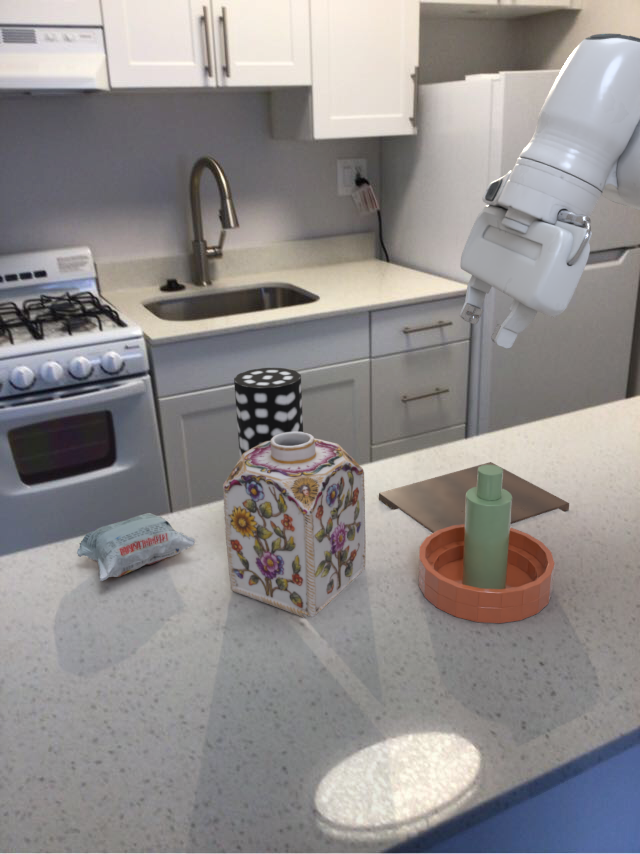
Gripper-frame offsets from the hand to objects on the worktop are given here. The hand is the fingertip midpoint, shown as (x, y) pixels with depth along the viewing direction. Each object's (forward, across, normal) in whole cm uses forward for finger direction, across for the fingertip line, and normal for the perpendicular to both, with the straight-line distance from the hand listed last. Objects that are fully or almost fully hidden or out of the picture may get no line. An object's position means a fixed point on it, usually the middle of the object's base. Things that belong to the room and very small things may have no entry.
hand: (482, 332), depth 79 cm
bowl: (+26, -6, -11) cm, 29 cm away
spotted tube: (+35, +16, +8) cm, 39 cm away
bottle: (+25, -6, -11) cm, 28 cm away
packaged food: (+42, +9, +24) cm, 49 cm away
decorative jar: (+34, 0, +7) cm, 35 cm away
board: (+24, +14, -17) cm, 33 cm away
